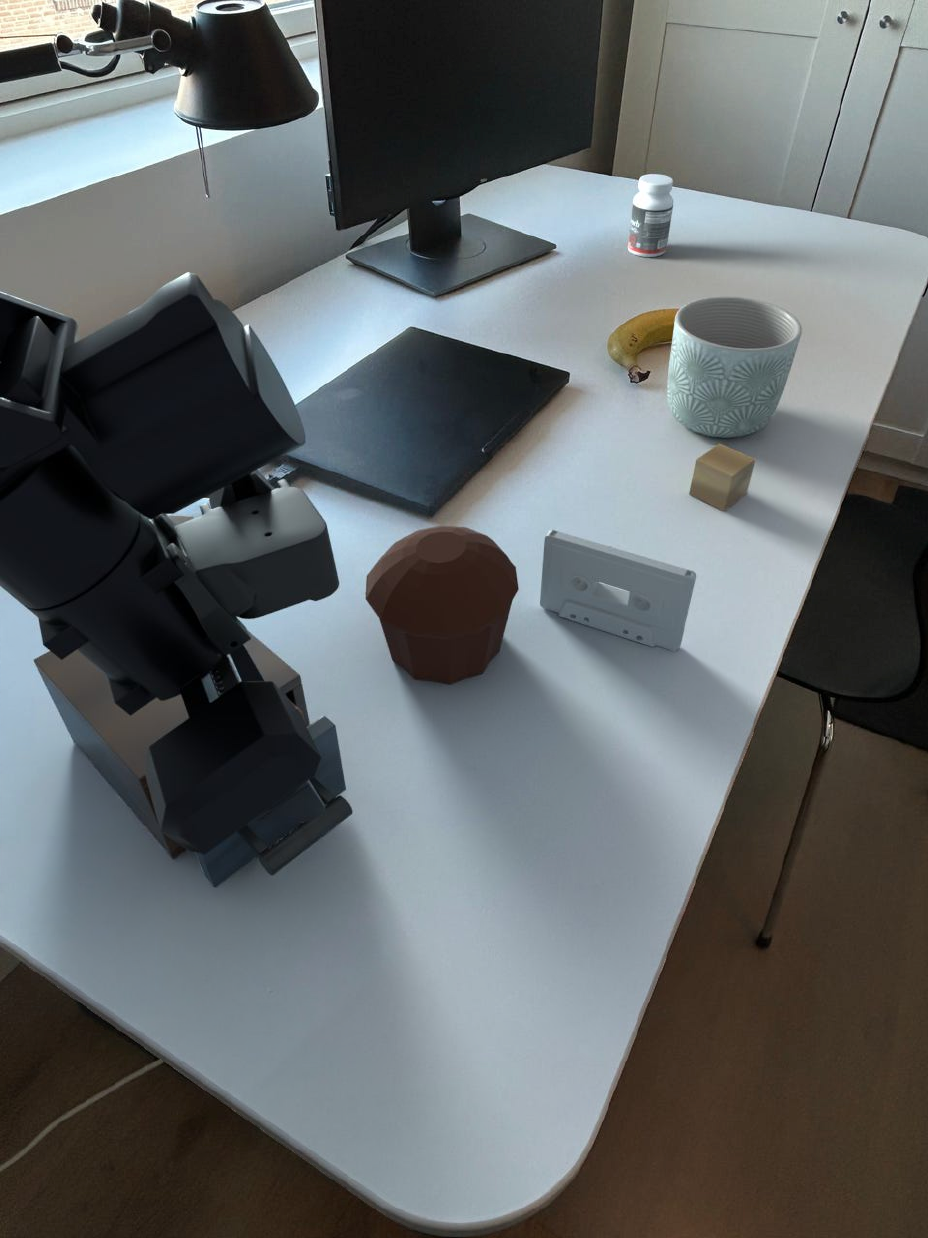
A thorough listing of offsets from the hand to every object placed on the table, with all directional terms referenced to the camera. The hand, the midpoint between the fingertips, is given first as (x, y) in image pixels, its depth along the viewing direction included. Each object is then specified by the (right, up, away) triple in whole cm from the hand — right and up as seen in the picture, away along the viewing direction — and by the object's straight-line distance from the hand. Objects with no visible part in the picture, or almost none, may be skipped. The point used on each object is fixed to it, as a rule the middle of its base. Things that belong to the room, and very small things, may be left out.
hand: (287, 751), depth 45 cm
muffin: (+7, +5, +25) cm, 27 cm away
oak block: (+34, +19, +40) cm, 56 cm away
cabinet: (-10, -3, +18) cm, 20 cm away
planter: (+37, +29, +50) cm, 68 cm away
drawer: (-6, -5, +13) cm, 15 cm away
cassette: (+21, +6, +27) cm, 34 cm away
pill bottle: (+36, +61, +85) cm, 110 cm away
